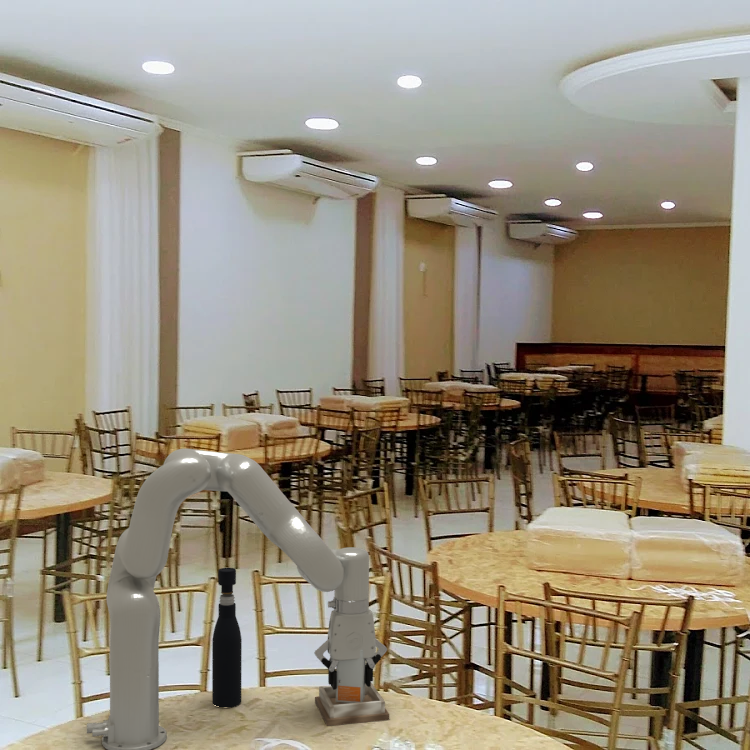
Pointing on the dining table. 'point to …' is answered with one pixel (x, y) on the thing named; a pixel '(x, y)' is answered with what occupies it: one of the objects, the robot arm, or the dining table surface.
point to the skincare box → (351, 680)
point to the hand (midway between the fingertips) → (350, 685)
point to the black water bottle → (226, 646)
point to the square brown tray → (351, 707)
